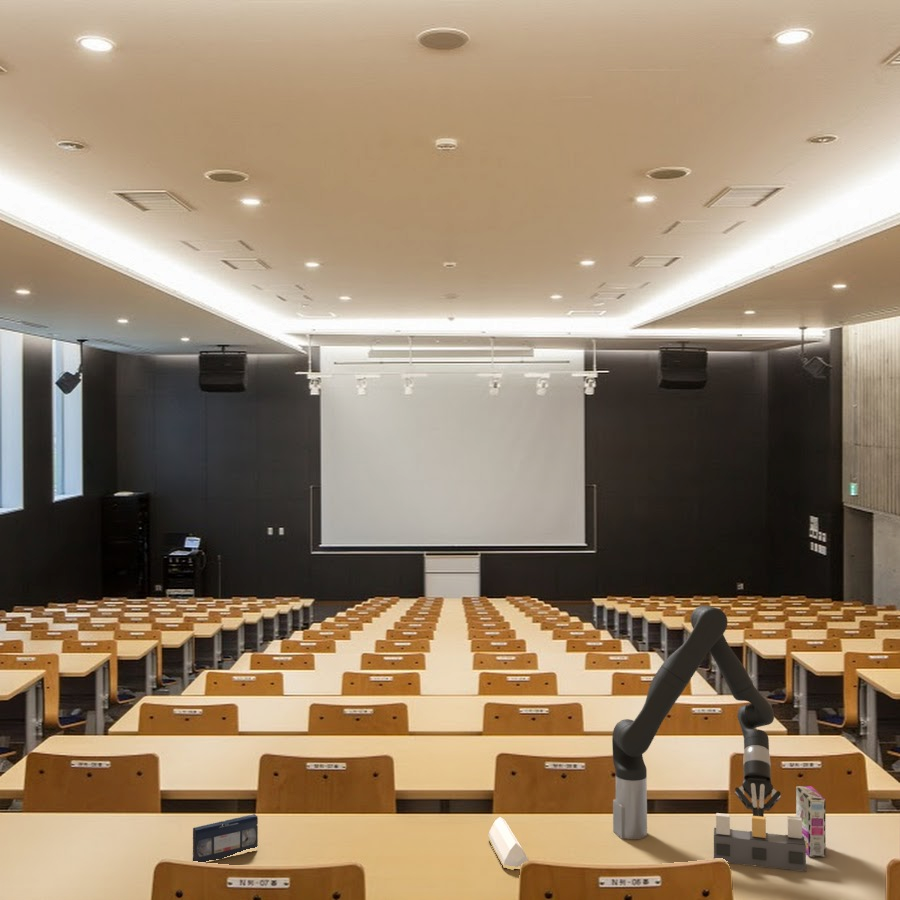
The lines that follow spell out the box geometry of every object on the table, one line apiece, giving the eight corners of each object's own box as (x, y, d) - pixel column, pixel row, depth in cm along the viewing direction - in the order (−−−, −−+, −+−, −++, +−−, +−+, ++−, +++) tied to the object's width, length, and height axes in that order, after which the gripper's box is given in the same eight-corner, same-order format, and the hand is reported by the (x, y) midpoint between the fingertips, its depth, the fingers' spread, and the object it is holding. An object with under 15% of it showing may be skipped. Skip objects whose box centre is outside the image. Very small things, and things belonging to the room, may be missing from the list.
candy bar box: (827, 857, 263) (826, 798, 264) (809, 857, 264) (808, 798, 264) (812, 842, 275) (812, 785, 275) (795, 841, 275) (794, 785, 275)
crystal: (480, 826, 278) (497, 859, 254) (500, 812, 279) (519, 844, 255) (492, 847, 278) (511, 882, 255) (512, 833, 280) (533, 867, 256)
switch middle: (752, 836, 260) (751, 818, 260) (752, 833, 262) (751, 815, 262) (765, 837, 259) (765, 819, 259) (765, 835, 261) (765, 816, 261)
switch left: (716, 833, 262) (716, 815, 262) (716, 831, 264) (716, 813, 264) (729, 835, 261) (729, 816, 261) (729, 832, 263) (729, 814, 263)
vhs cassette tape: (195, 866, 260) (195, 830, 260) (191, 862, 262) (191, 826, 262) (258, 851, 269) (258, 816, 270) (255, 848, 272) (254, 813, 272)
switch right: (788, 837, 259) (787, 818, 259) (787, 834, 261) (787, 816, 261) (802, 838, 258) (801, 820, 258) (801, 835, 260) (801, 817, 260)
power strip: (713, 862, 261) (713, 835, 261) (714, 852, 267) (714, 827, 267) (806, 872, 254) (805, 845, 254) (804, 862, 260) (804, 836, 260)
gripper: (733, 756, 273) (733, 814, 261) (781, 760, 269) (784, 819, 257) (733, 769, 278) (733, 826, 266) (780, 773, 274) (783, 831, 262)
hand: (758, 823), depth 262 cm, fingers closed
